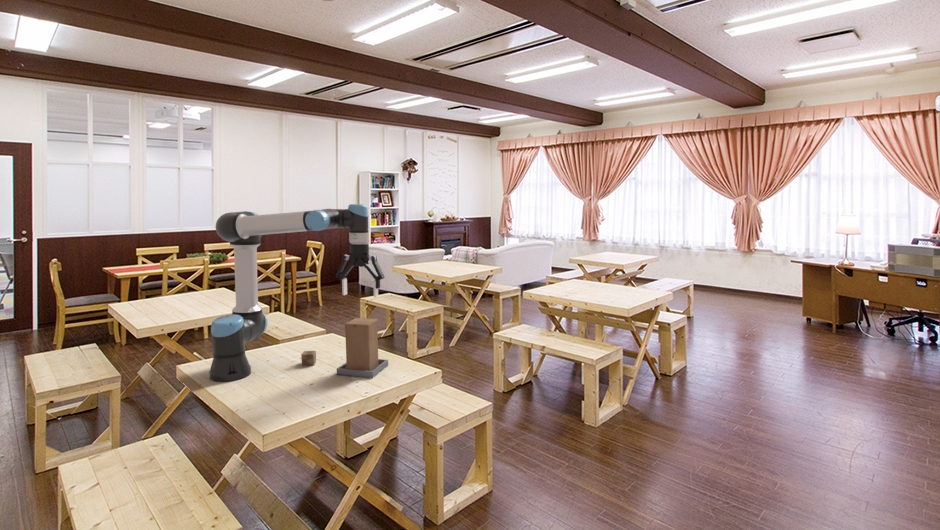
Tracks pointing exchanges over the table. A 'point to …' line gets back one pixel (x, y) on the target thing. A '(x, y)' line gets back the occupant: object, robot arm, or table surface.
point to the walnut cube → (308, 358)
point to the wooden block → (361, 344)
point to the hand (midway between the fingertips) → (360, 295)
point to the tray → (361, 373)
